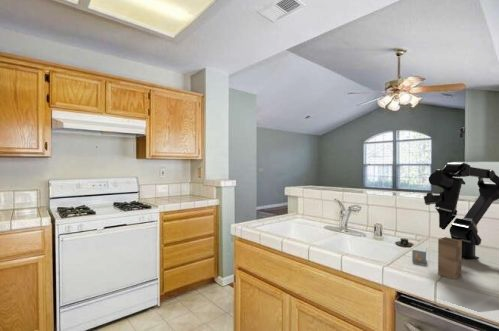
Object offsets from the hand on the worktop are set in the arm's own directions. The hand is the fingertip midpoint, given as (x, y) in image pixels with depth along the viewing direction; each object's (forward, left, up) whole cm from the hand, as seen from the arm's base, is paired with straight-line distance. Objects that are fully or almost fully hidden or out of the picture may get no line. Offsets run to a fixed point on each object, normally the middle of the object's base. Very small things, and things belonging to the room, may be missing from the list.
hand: (441, 228), depth 109 cm
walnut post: (+10, +13, -13) cm, 21 cm away
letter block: (+9, -1, -13) cm, 16 cm away
